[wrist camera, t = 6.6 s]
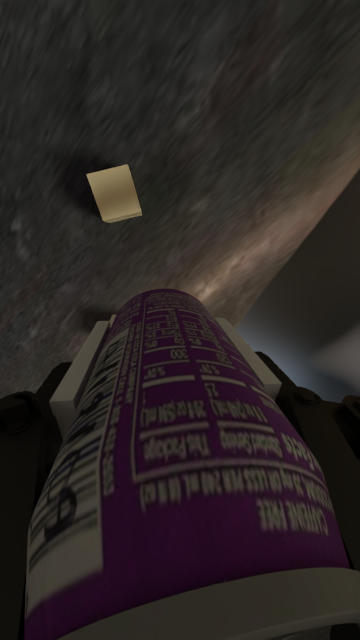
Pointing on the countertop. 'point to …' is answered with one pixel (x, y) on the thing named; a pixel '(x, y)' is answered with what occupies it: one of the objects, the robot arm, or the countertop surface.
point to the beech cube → (115, 193)
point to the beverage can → (183, 499)
